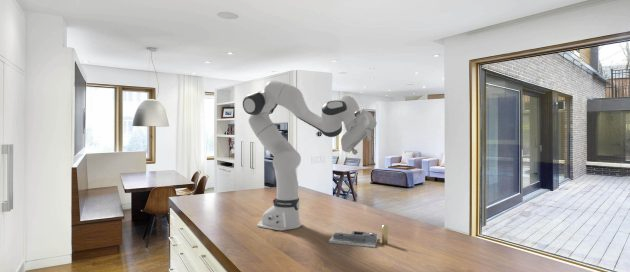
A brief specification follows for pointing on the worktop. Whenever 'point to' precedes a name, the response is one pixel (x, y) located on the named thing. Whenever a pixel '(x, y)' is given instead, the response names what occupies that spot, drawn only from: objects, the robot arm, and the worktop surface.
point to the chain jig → (355, 238)
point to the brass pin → (385, 234)
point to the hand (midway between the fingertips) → (362, 146)
